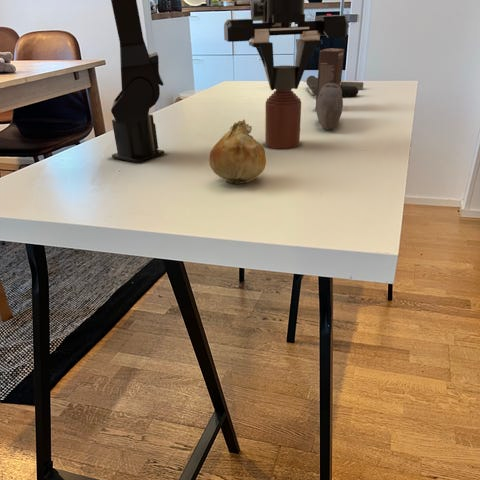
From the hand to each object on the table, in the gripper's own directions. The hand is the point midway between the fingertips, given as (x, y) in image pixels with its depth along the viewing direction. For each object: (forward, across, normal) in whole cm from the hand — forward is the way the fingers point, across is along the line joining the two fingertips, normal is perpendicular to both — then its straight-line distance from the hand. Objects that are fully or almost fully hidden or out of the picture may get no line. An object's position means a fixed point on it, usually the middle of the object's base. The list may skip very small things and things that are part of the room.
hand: (283, 89), depth 80 cm
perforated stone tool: (+9, -12, -12) cm, 19 cm away
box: (+9, -17, -30) cm, 35 cm away
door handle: (+9, -26, -52) cm, 59 cm away
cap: (0, 0, 0) cm, 0 cm away
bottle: (+9, 0, 0) cm, 9 cm away
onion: (+9, +10, +19) cm, 23 cm away
